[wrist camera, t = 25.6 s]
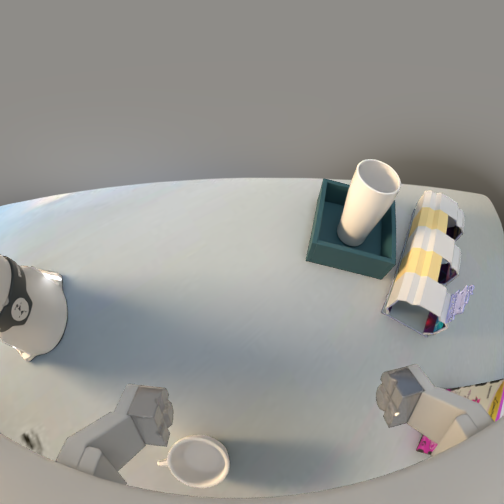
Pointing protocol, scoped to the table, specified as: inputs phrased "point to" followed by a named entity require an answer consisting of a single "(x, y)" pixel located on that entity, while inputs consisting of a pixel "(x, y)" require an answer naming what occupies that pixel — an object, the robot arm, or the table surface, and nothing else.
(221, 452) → the teacup
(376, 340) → the table surface
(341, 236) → the drinking glass
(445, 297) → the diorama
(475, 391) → the candy bar box
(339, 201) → the bin
